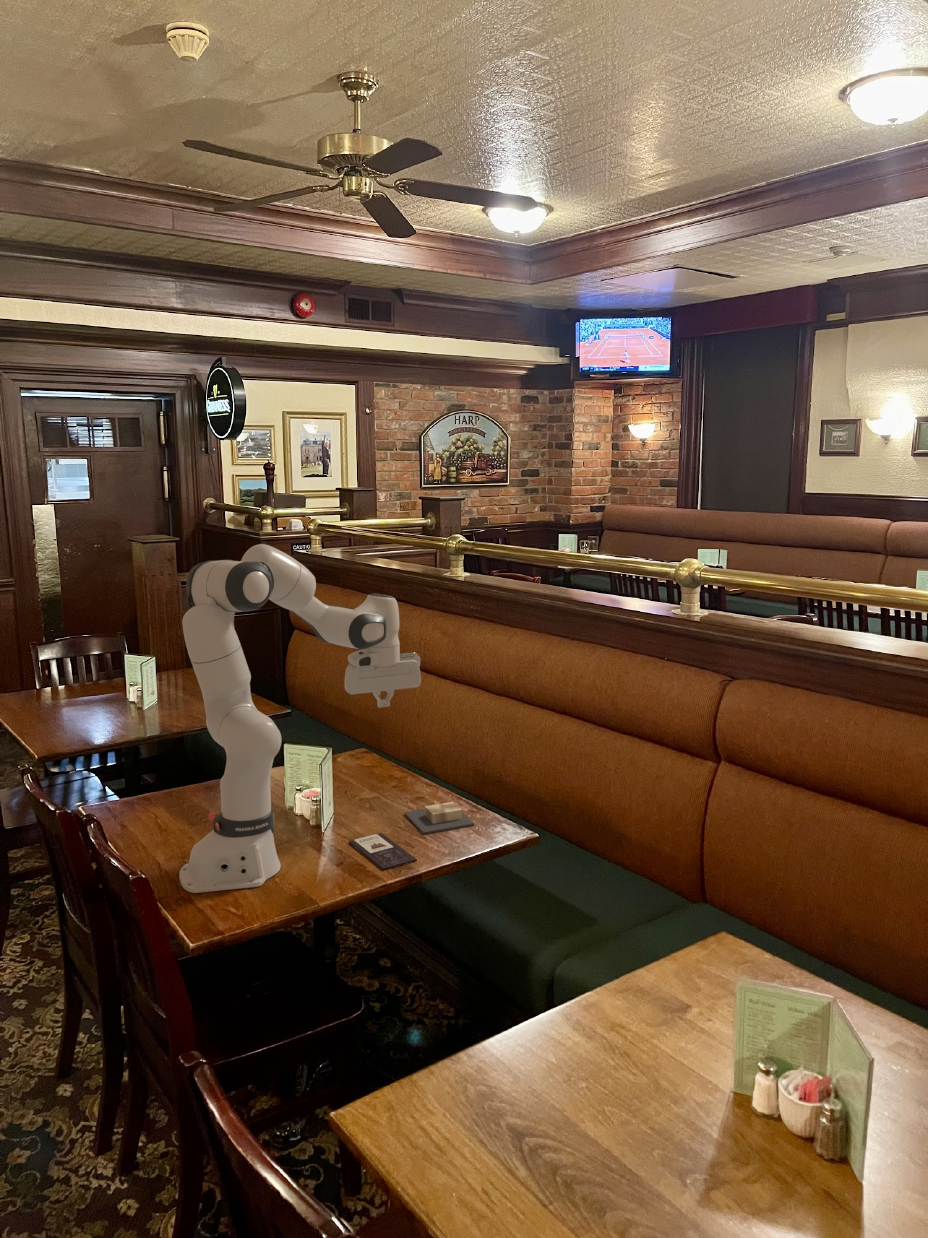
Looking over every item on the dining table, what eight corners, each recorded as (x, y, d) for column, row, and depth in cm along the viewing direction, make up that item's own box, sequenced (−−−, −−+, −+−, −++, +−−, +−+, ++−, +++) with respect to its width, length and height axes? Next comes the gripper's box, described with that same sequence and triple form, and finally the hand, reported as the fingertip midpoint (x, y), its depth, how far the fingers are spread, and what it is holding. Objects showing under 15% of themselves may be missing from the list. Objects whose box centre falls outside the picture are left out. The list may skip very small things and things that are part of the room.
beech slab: (433, 823, 236) (461, 818, 239) (433, 814, 235) (461, 809, 238) (424, 815, 241) (452, 810, 244) (424, 806, 241) (452, 801, 244)
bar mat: (423, 834, 231) (423, 832, 230) (404, 814, 243) (404, 812, 243) (474, 825, 236) (474, 823, 236) (453, 806, 249) (453, 804, 249)
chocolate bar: (383, 868, 211) (348, 841, 226) (383, 872, 211) (348, 844, 226) (417, 859, 216) (381, 832, 230) (417, 863, 216) (381, 836, 231)
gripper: (415, 649, 244) (416, 699, 247) (341, 656, 236) (343, 708, 239) (424, 654, 239) (425, 705, 241) (348, 661, 230) (350, 714, 233)
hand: (383, 706), depth 240 cm, fingers closed
